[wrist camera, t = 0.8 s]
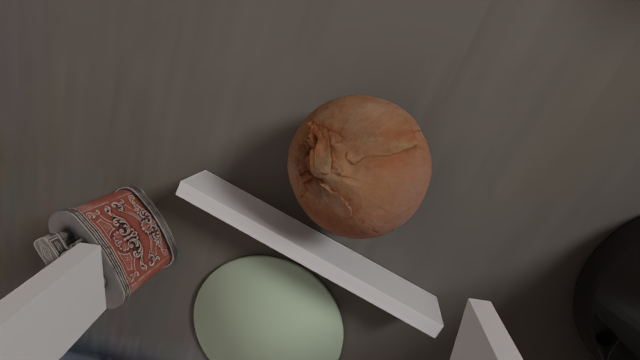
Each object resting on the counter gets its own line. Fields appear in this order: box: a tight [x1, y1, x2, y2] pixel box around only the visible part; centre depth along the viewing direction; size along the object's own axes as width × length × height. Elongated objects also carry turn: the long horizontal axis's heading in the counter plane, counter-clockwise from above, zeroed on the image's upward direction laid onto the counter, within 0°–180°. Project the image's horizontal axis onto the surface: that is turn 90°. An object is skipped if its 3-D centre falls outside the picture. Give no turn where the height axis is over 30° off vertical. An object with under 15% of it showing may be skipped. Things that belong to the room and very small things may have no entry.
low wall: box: [176, 170, 444, 338], centre depth 30 cm, size 22×1×4 cm, turn 63°
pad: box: [194, 255, 344, 360], centre depth 34 cm, size 14×14×1 cm
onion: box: [287, 95, 432, 239], centre depth 25 cm, size 10×9×10 cm
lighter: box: [34, 185, 179, 309], centre depth 29 cm, size 8×3×10 cm, turn 28°
